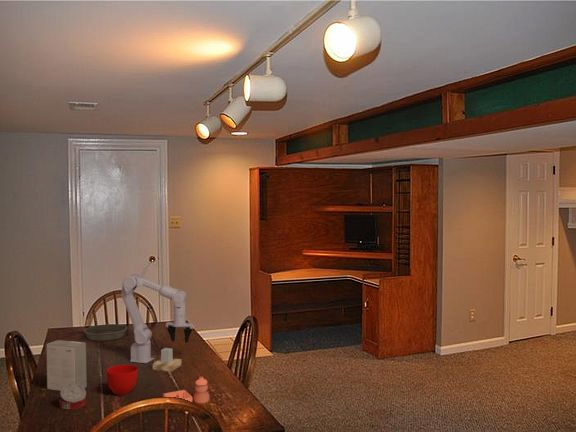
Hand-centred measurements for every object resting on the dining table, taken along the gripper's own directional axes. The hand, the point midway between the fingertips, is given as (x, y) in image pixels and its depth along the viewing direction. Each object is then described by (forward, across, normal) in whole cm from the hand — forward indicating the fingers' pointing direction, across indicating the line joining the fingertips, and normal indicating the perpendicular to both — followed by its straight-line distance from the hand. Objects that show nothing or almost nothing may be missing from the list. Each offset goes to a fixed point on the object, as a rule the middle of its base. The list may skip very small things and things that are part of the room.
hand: (179, 341), depth 281 cm
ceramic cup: (+10, -4, -46) cm, 47 cm away
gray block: (+7, -1, -11) cm, 13 cm away
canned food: (+10, -13, -65) cm, 67 cm away
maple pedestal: (+10, -1, -11) cm, 15 cm away
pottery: (+10, +30, -49) cm, 59 cm away
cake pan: (+10, -66, +31) cm, 74 cm away
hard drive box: (+10, -28, -50) cm, 58 cm away
